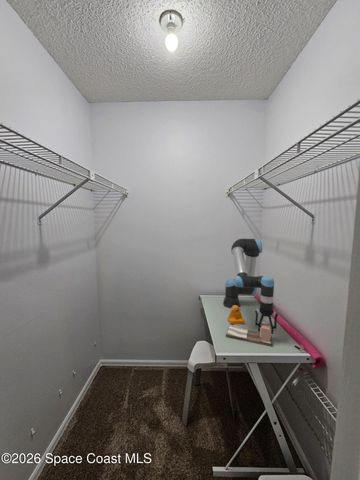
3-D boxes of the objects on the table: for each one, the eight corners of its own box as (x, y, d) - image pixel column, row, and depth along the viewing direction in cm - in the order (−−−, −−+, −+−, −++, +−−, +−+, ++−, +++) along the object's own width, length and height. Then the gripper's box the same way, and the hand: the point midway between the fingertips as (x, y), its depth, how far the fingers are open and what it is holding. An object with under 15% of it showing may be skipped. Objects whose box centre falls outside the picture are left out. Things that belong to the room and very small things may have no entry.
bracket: (230, 324, 151) (231, 309, 150) (227, 320, 158) (228, 305, 157) (245, 324, 151) (245, 308, 151) (241, 319, 159) (241, 304, 158)
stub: (261, 333, 136) (261, 321, 135) (269, 334, 134) (269, 323, 133) (260, 340, 127) (261, 327, 127) (269, 342, 125) (270, 329, 125)
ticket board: (228, 328, 145) (228, 325, 145) (271, 336, 135) (271, 333, 135) (225, 337, 134) (225, 334, 134) (272, 346, 124) (272, 343, 123)
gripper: (251, 301, 129) (250, 337, 130) (283, 306, 122) (281, 343, 123) (251, 297, 136) (250, 331, 137) (282, 301, 129) (280, 337, 130)
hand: (265, 337), depth 130 cm, fingers closed on stub, 5 cm apart
